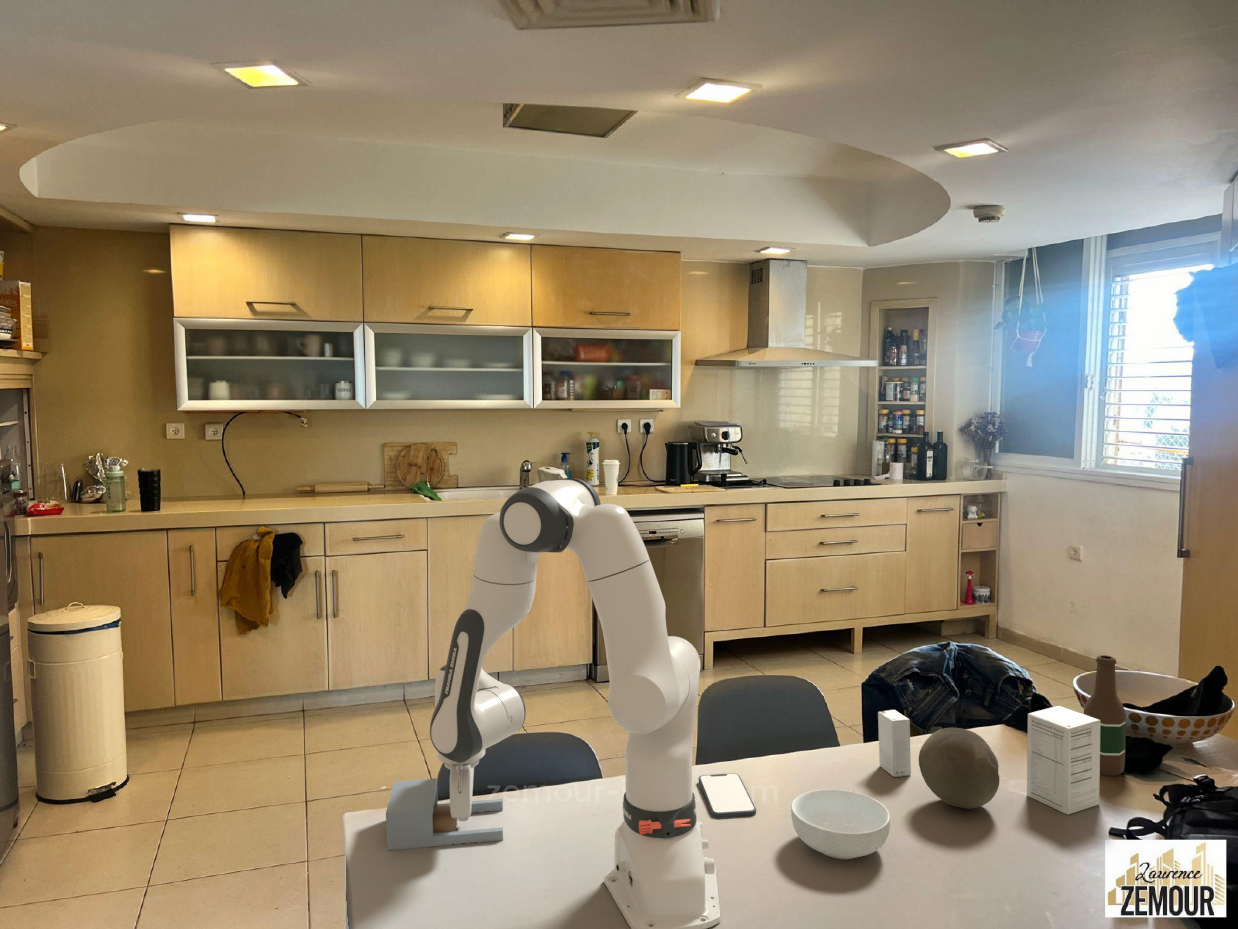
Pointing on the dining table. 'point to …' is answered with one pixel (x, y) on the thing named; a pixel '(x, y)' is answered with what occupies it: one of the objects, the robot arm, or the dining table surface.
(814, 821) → the cereal bowl
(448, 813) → the tan cardboard slab
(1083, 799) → the supplement box
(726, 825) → the dining table surface
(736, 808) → the smartphone
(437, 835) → the grey u-shaped frame
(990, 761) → the cantaloupe
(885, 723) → the skincare box
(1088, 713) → the beer bottle
